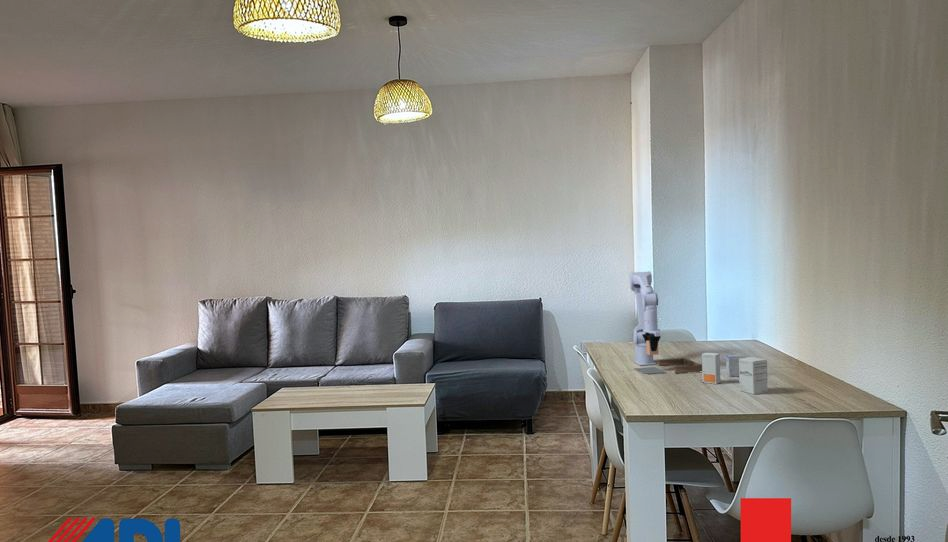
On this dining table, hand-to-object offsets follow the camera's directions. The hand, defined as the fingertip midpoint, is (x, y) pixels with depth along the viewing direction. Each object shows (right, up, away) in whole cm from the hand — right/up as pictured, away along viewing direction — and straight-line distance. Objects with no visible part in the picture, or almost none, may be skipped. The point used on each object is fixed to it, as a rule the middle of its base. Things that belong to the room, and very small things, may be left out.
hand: (651, 350), depth 313 cm
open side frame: (+13, -9, +2) cm, 16 cm away
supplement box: (+27, -11, -48) cm, 56 cm away
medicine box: (+32, -9, -18) cm, 37 cm away
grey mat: (-1, -9, 0) cm, 9 cm away
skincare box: (+17, -10, -29) cm, 35 cm away
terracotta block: (0, -2, 0) cm, 2 cm away
